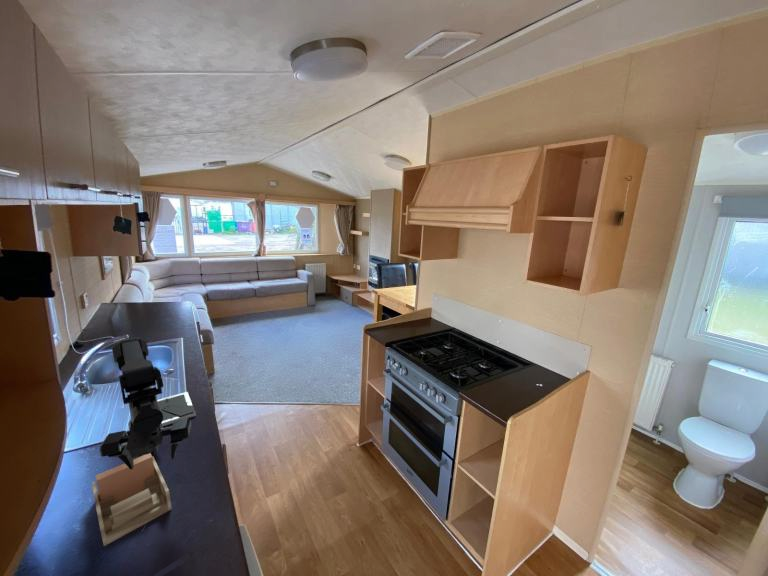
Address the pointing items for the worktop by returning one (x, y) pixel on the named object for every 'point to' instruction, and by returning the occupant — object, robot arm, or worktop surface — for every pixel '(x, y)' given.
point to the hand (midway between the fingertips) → (153, 463)
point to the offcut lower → (155, 504)
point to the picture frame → (176, 408)
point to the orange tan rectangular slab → (125, 479)
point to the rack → (104, 511)
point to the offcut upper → (131, 506)
